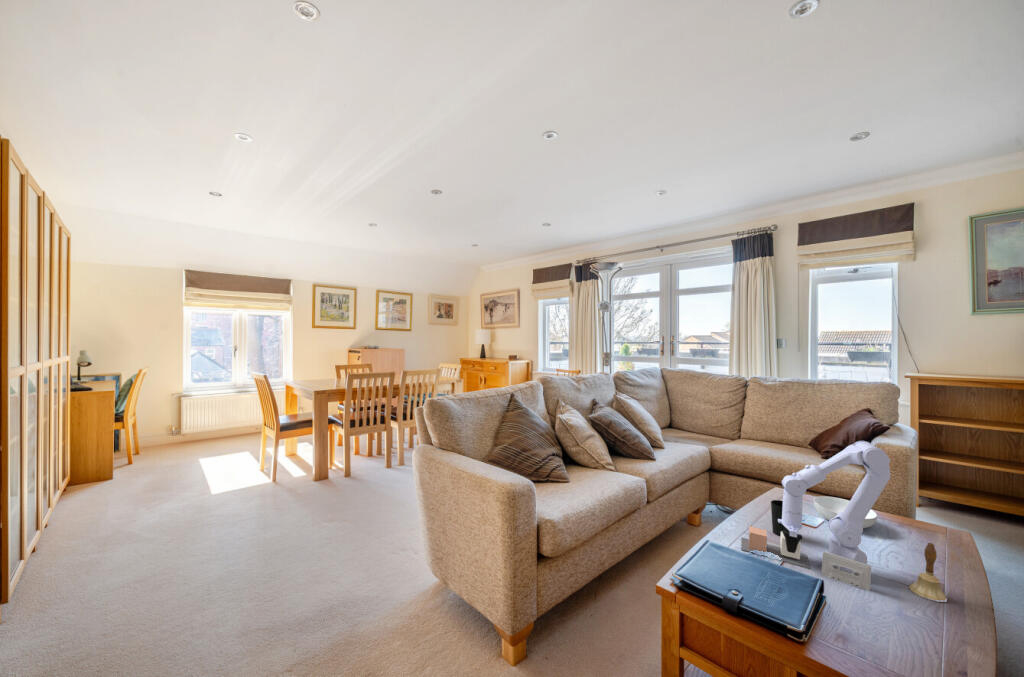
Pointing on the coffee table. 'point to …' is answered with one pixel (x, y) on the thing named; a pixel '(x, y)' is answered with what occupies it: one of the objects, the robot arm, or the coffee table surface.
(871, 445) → the robot arm
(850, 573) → the cassette
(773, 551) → the charcoal mat
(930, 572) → the hand bell
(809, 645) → the coffee table surface
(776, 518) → the cup
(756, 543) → the terracotta cover
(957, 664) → the coffee table surface
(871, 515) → the serving bowl
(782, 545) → the cream block
